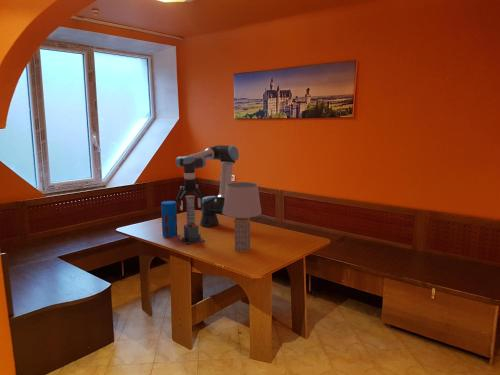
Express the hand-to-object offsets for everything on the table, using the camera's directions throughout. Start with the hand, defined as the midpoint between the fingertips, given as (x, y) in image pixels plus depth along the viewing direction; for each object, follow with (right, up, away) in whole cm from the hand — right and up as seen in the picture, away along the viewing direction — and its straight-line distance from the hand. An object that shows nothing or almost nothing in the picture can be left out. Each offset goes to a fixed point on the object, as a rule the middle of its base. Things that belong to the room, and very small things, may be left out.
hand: (190, 208), depth 272 cm
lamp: (+36, -26, -15) cm, 47 cm away
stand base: (0, -23, +4) cm, 23 cm away
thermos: (-18, -21, +16) cm, 32 cm away
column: (0, -14, +3) cm, 14 cm away
